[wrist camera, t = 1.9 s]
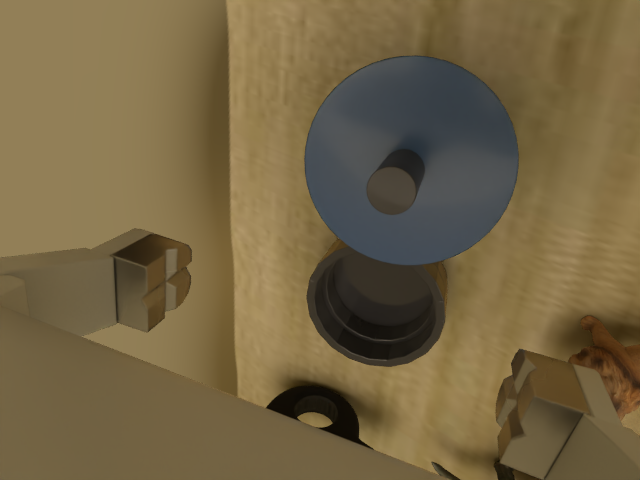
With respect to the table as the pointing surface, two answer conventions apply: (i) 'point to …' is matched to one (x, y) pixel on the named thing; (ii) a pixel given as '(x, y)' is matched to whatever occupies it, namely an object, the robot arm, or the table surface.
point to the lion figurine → (612, 366)
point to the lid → (411, 160)
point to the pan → (377, 306)
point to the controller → (320, 409)
